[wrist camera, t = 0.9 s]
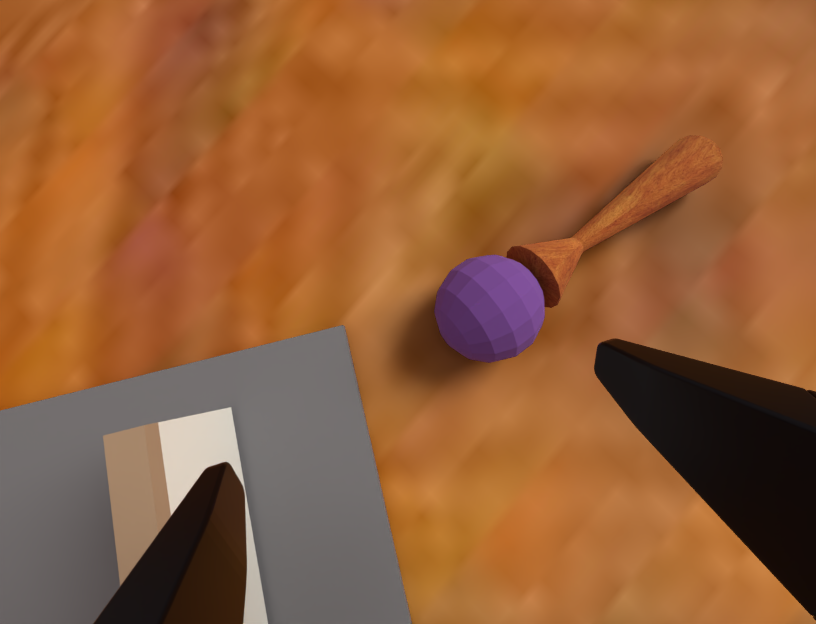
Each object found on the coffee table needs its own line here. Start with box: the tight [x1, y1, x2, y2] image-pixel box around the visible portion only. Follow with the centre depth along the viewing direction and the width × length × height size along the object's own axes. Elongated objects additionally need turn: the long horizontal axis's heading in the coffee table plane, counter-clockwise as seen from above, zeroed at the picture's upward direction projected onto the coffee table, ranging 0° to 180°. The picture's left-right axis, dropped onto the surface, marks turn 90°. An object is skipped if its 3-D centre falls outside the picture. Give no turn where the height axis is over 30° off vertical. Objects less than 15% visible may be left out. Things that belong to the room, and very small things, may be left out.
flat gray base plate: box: [0, 325, 412, 624], centre depth 17 cm, size 22×24×8 cm
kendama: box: [434, 136, 723, 363], centre depth 22 cm, size 6×6×20 cm
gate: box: [103, 407, 268, 624], centre depth 17 cm, size 14×2×7 cm, turn 14°
